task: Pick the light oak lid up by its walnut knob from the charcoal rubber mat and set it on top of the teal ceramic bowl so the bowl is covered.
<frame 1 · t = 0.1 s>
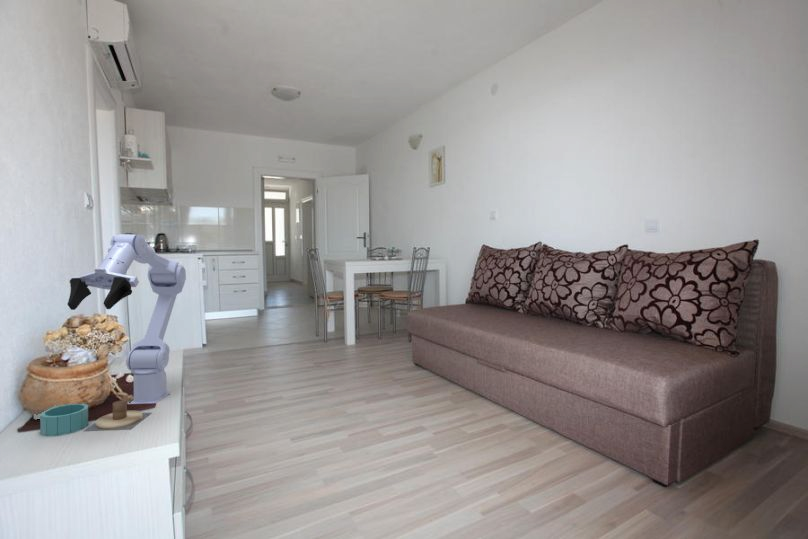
hand: (88, 306, 93), 32 cm above the sideboard, tool tilted 50°, fingers open, 7 cm apart
mat: (119, 423, 104), on the sideboard
bowl: (65, 429, 100), on the sideboard
lid: (119, 421, 104), resting on mat
supplement box: (58, 416, 108), on the sideboard
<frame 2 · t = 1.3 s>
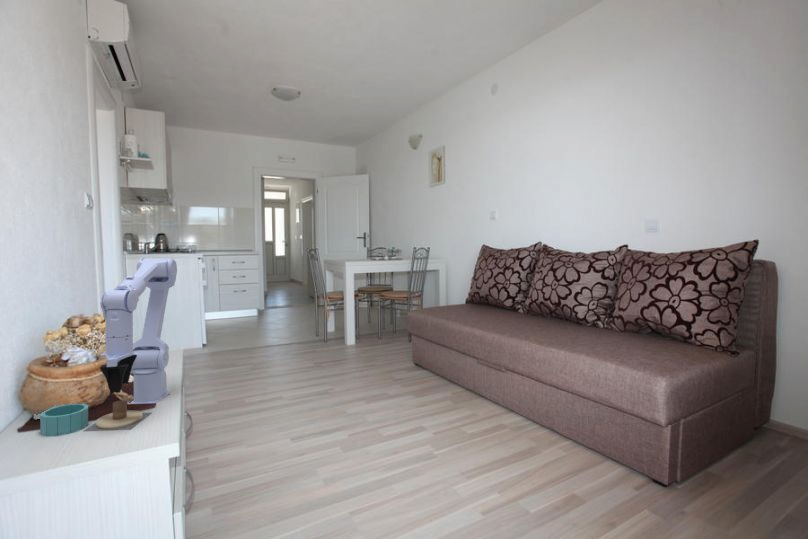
hand: (119, 387, 104), 9 cm above the sideboard, tool pointing down, fingers open, 7 cm apart
nothing on the sideboard moved.
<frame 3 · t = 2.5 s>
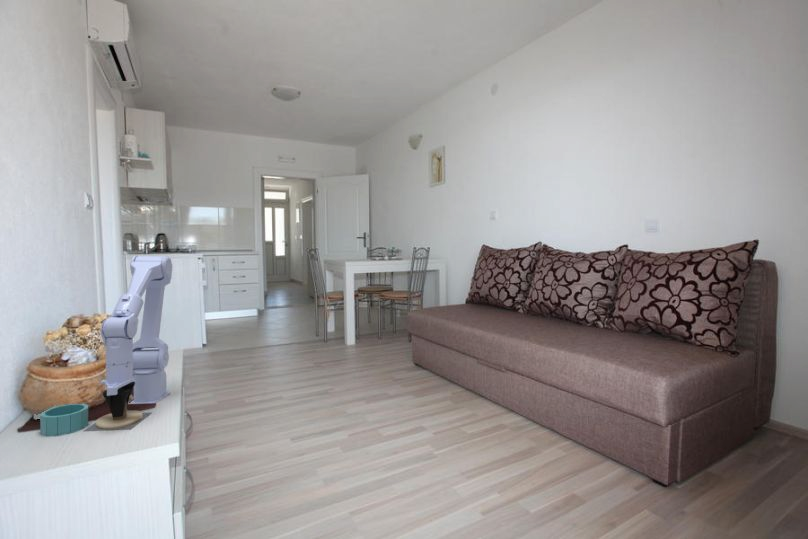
hand: (119, 414, 104), 2 cm above the sideboard, tool pointing down, fingers closed on lid, 3 cm apart
lid: (119, 421, 104), point 1 cm above the sideboard, touching gripper, mat
everything else where it was.
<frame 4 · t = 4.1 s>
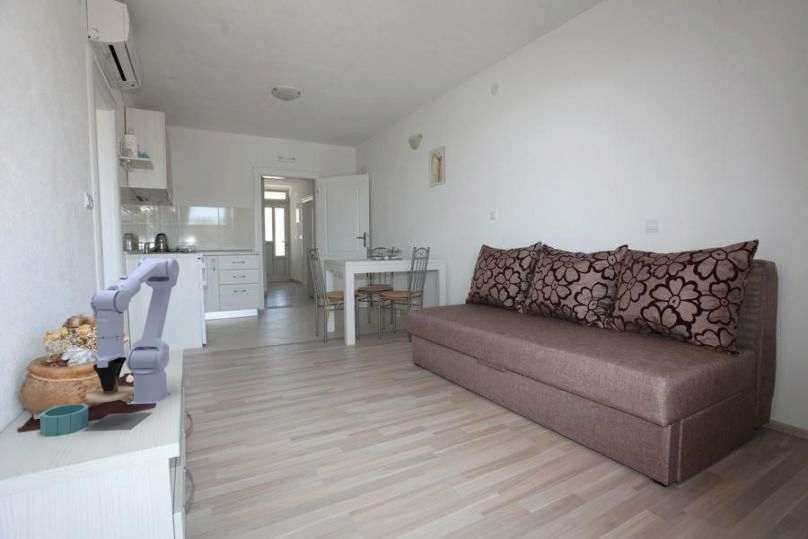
hand: (110, 388, 103), 9 cm above the sideboard, tool pointing down, fingers closed on lid, 3 cm apart
lid: (110, 395, 103), point 8 cm above the sideboard, touching gripper
everything else where it was.
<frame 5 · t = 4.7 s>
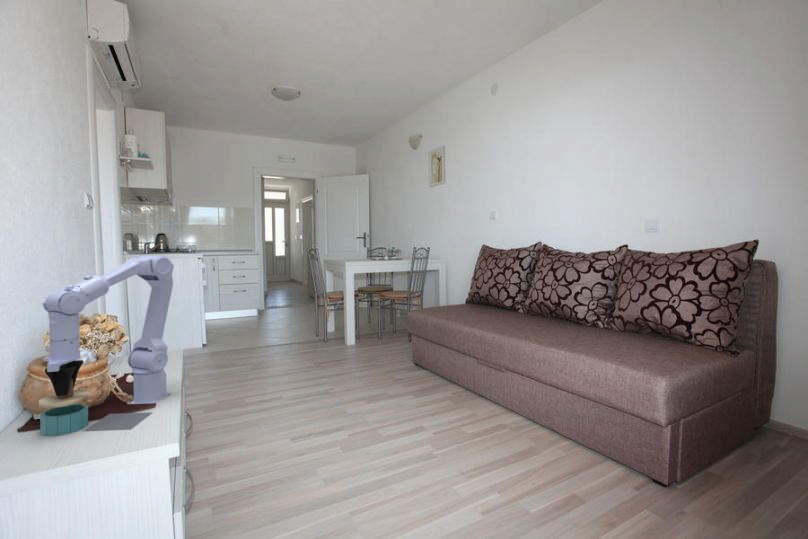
hand: (64, 392, 99), 9 cm above the sideboard, tool pointing down, fingers closed on lid, 3 cm apart
lid: (65, 400, 99), point 7 cm above the sideboard, touching gripper
everything else where it was.
when the fingers open (8 cm above the sideboard, at t = 5.3 s): lid stays where it is, resting on bowl.
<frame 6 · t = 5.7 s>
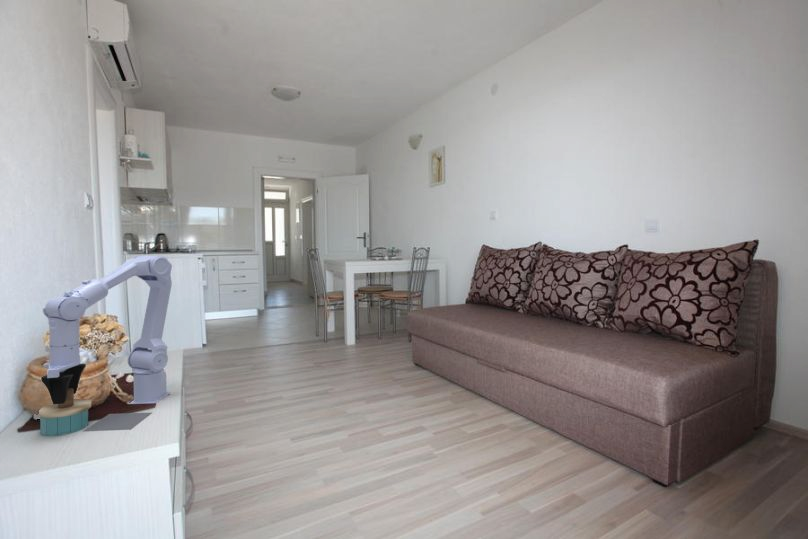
hand: (65, 398, 99), 8 cm above the sideboard, tool pointing down, fingers open, 7 cm apart
lid: (65, 410, 100), point 5 cm above the sideboard, touching bowl
everything else where it was.
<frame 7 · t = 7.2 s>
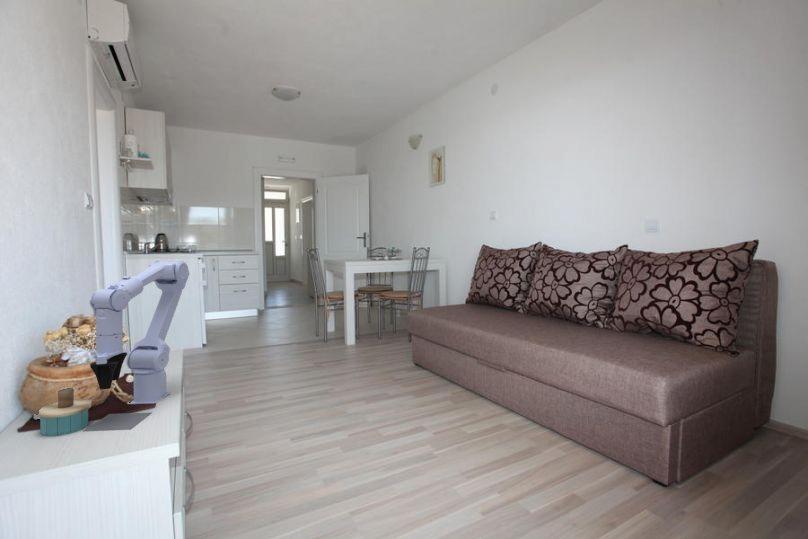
hand: (109, 384, 106), 9 cm above the sideboard, tool pointing down, fingers open, 7 cm apart
nothing on the sideboard moved.
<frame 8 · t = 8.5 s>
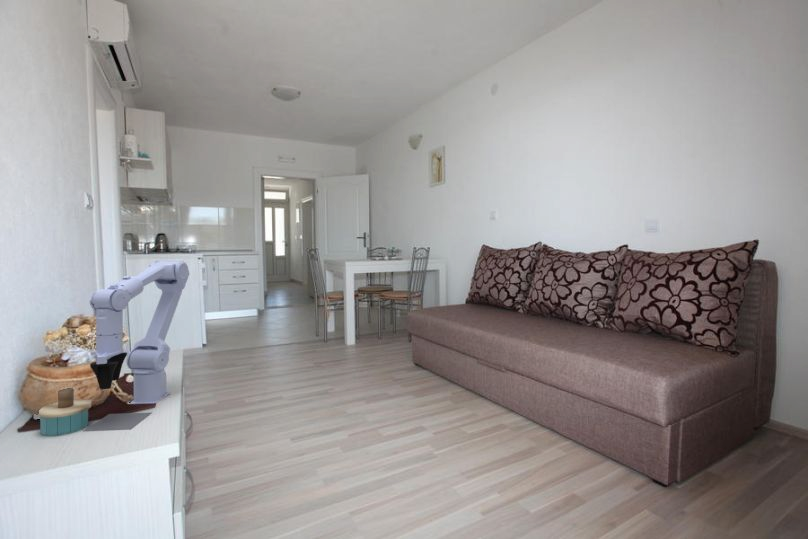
hand: (109, 384, 106), 9 cm above the sideboard, tool pointing down, fingers open, 7 cm apart
nothing on the sideboard moved.
at the end: lid 0.2 cm from the bowl (horizontally); lid point 5.0 cm above the sideboard; lid tilted 0° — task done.
